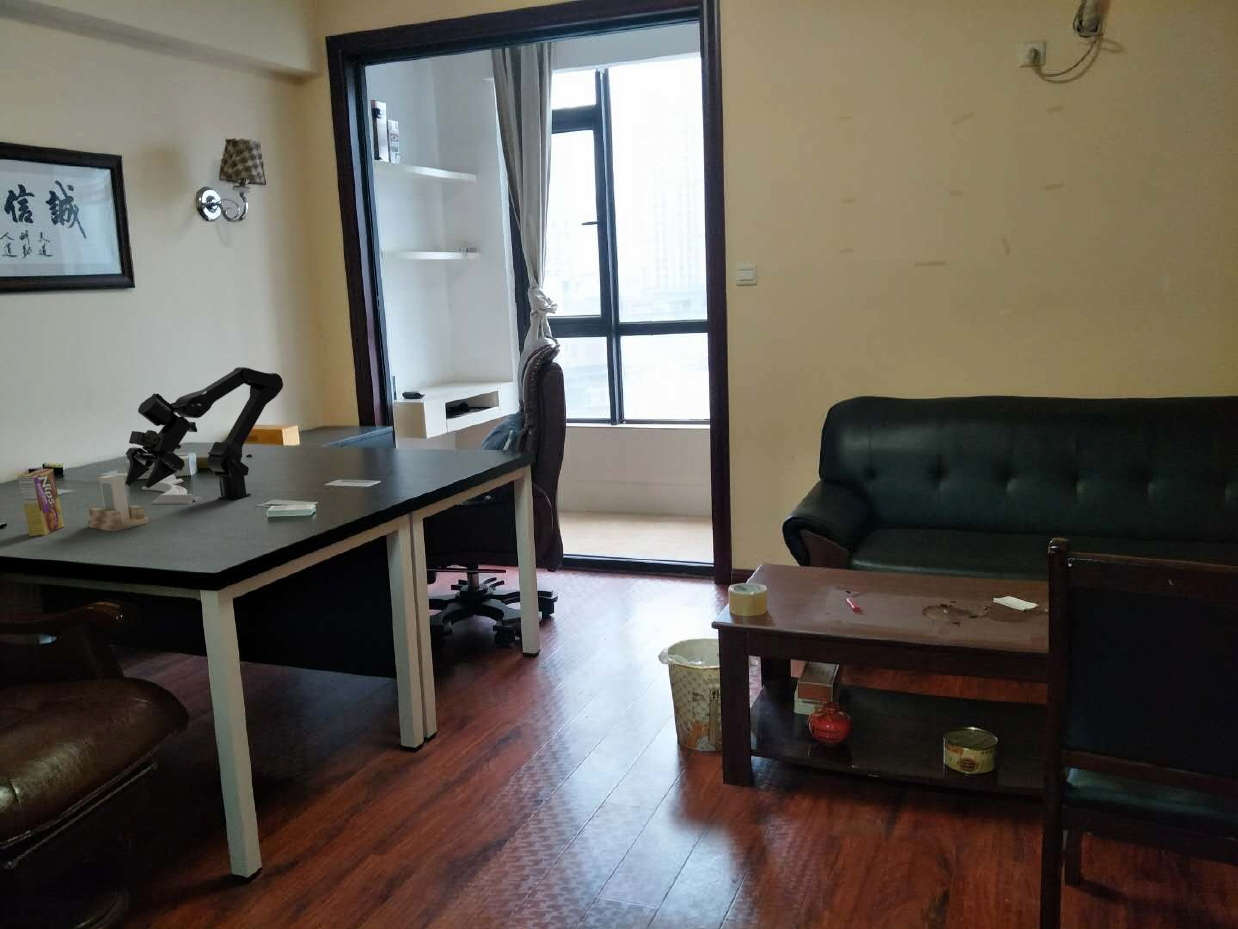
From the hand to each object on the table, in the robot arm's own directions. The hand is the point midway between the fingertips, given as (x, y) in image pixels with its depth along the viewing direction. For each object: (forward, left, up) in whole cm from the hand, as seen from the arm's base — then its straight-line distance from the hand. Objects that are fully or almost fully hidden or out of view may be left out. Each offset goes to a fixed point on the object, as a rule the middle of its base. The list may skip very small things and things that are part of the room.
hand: (136, 485), depth 258 cm
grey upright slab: (+1, +6, -7) cm, 10 cm away
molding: (+20, -30, -10) cm, 37 cm away
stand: (+1, +6, -9) cm, 11 cm away
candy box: (+15, +16, -9) cm, 24 cm away
